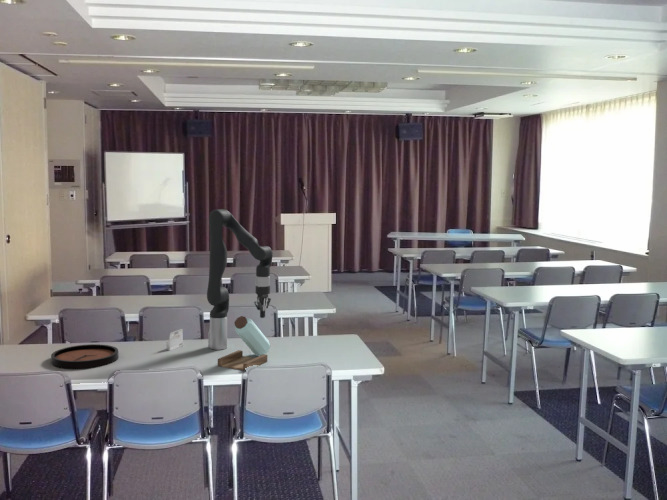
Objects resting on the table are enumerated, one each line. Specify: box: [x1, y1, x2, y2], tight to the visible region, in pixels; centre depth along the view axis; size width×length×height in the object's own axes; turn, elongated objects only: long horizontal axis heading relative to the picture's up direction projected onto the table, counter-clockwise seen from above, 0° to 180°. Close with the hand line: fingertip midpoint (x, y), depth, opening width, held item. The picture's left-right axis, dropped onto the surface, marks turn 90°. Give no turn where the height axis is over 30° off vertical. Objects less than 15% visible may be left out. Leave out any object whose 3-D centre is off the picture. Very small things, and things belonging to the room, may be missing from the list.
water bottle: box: [233, 315, 271, 356], centre depth 320 cm, size 10×10×25 cm
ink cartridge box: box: [165, 328, 184, 351], centre depth 337 cm, size 2×11×10 cm, turn 155°
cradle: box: [217, 349, 268, 371], centre depth 311 cm, size 17×18×4 cm
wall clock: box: [50, 343, 120, 370], centre depth 313 cm, size 31×4×31 cm
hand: (262, 317), depth 325 cm, fingers closed
